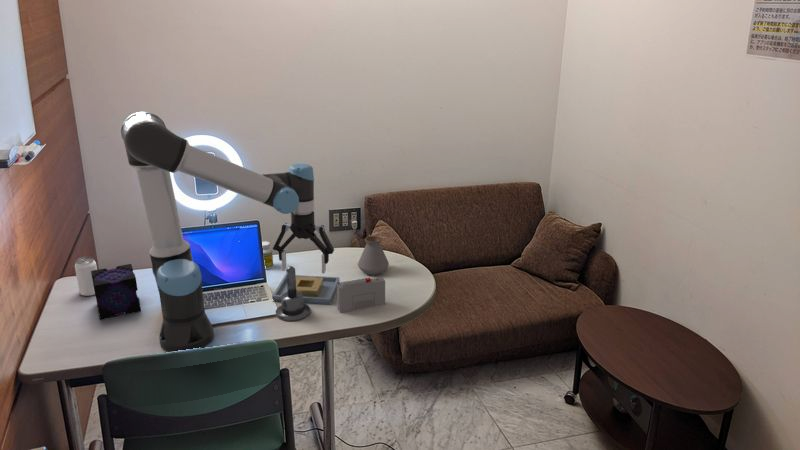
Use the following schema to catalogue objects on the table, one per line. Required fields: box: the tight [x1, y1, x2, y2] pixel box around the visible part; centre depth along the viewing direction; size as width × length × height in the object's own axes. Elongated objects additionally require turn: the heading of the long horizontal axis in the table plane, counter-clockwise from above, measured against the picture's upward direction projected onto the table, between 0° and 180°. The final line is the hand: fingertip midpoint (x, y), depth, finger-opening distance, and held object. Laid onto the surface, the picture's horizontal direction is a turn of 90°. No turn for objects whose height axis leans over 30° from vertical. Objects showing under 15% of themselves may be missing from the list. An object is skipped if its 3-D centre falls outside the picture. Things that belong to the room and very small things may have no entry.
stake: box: [275, 265, 311, 322], centre depth 189 cm, size 11×11×16 cm
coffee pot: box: [357, 219, 390, 276], centre depth 224 cm, size 21×12×15 cm, turn 13°
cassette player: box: [336, 276, 386, 314], centre depth 195 cm, size 16×3×10 cm, turn 112°
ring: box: [296, 277, 324, 297], centre depth 206 cm, size 12×10×3 cm
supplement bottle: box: [261, 241, 274, 270], centre depth 223 cm, size 5×5×10 cm
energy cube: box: [91, 263, 142, 321], centre depth 192 cm, size 12×12×12 cm
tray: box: [271, 274, 340, 306], centre depth 206 cm, size 17×20×2 cm
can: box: [74, 256, 98, 297], centre depth 201 cm, size 6×6×12 cm
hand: (304, 270), depth 202 cm, fingers open, 13 cm apart
